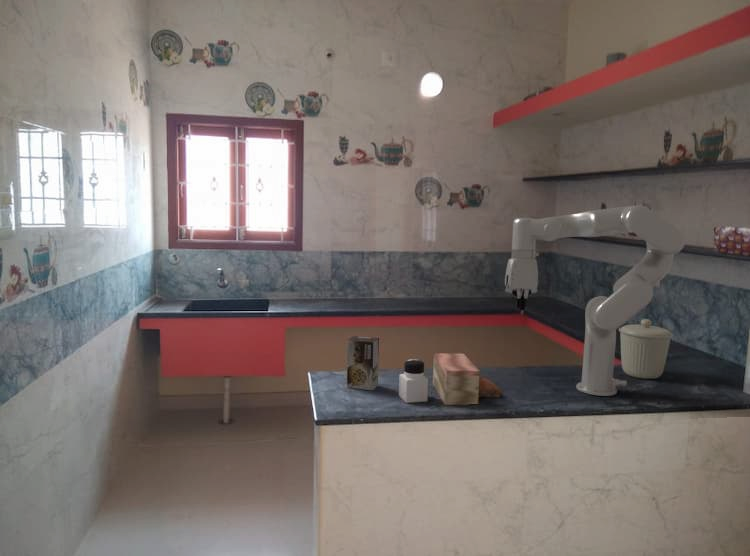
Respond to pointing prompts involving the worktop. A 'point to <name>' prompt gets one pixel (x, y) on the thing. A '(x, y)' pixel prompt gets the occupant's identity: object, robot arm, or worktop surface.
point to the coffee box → (362, 362)
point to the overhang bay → (455, 379)
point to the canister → (644, 349)
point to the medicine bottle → (413, 382)
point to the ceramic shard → (488, 389)
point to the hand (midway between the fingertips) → (520, 309)
